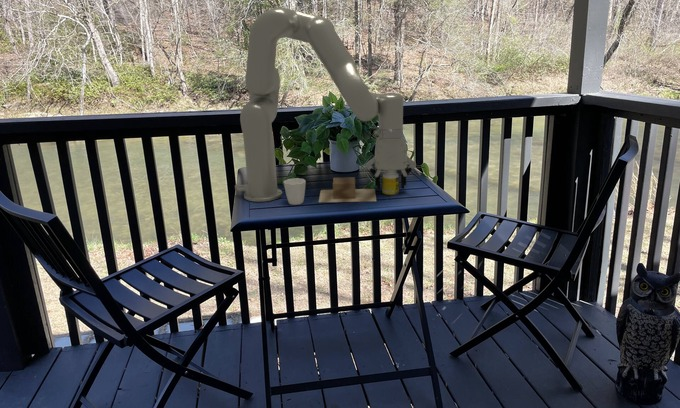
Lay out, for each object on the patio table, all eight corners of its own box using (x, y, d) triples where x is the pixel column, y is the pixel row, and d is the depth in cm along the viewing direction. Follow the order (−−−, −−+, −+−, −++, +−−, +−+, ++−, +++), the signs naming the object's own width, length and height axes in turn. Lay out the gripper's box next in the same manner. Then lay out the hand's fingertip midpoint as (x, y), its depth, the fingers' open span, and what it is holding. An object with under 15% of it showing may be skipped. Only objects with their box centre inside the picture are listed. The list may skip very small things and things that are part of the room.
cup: (282, 209, 161) (280, 184, 159) (288, 199, 171) (287, 175, 168) (305, 209, 161) (303, 184, 158) (310, 199, 170) (309, 175, 167)
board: (318, 205, 164) (318, 202, 164) (320, 192, 176) (320, 189, 176) (376, 204, 164) (376, 201, 163) (374, 191, 176) (374, 188, 176)
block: (333, 199, 166) (332, 183, 165) (333, 192, 173) (333, 177, 172) (355, 198, 166) (355, 183, 165) (355, 191, 173) (354, 177, 171)
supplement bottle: (398, 198, 168) (398, 168, 165) (381, 197, 170) (381, 168, 166) (399, 193, 174) (399, 164, 170) (383, 192, 175) (383, 164, 171)
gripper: (363, 136, 162) (364, 191, 167) (420, 135, 161) (418, 190, 167) (362, 131, 169) (363, 185, 174) (417, 130, 168) (416, 183, 174)
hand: (390, 187), depth 171 cm, fingers open, 7 cm apart
